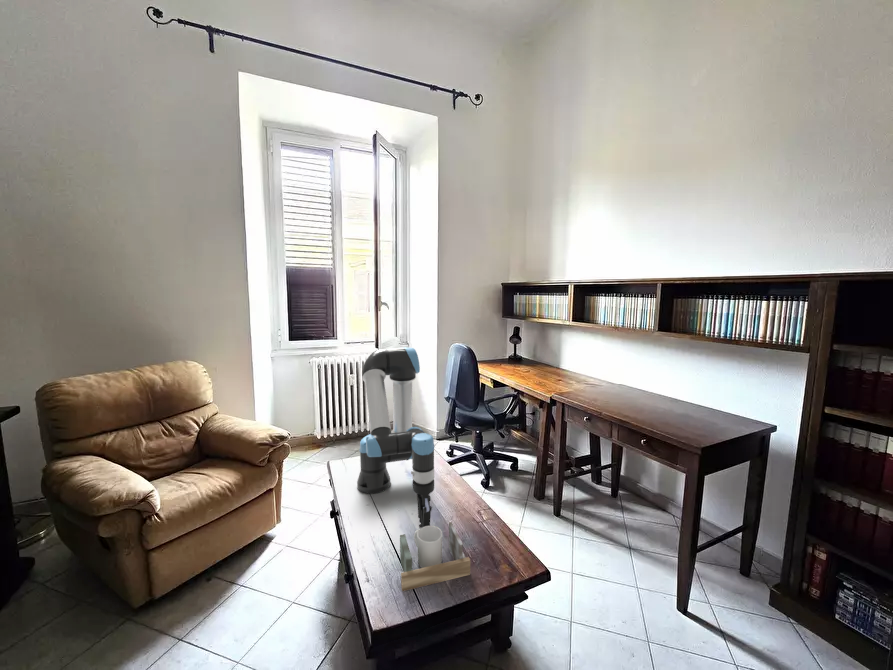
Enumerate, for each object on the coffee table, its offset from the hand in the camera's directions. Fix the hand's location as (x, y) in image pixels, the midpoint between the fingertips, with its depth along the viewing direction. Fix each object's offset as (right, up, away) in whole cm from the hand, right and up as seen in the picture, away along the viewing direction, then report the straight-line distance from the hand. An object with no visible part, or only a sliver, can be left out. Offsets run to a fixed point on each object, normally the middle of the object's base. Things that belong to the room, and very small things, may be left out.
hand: (424, 541), depth 129 cm
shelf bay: (+4, -3, -10) cm, 11 cm away
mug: (+1, -3, -6) cm, 7 cm away
